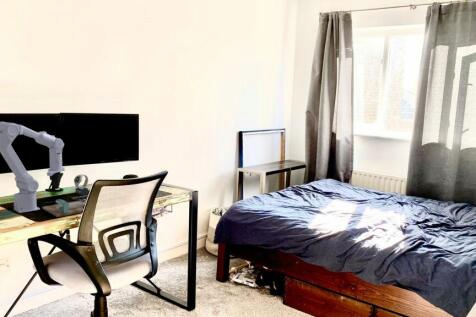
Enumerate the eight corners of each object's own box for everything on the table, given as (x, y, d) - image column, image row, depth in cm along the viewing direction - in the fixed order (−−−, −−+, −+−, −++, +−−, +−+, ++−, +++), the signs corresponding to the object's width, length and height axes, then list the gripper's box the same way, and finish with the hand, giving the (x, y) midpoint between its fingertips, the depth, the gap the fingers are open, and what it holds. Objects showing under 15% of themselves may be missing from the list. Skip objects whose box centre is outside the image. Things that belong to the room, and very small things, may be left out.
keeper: (64, 213, 196) (63, 203, 195) (56, 209, 202) (55, 199, 201) (69, 212, 198) (68, 202, 197) (60, 208, 204) (60, 199, 203)
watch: (72, 194, 235) (72, 175, 233) (84, 191, 242) (84, 173, 240) (79, 195, 232) (78, 176, 230) (90, 193, 239) (90, 174, 237)
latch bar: (85, 203, 213) (85, 198, 212) (89, 205, 210) (89, 199, 210) (55, 209, 200) (55, 203, 200) (59, 211, 198) (59, 205, 197)
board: (57, 216, 193) (57, 214, 193) (42, 208, 205) (42, 206, 205) (99, 209, 208) (99, 207, 208) (83, 201, 220) (83, 200, 220)
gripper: (55, 158, 219) (55, 183, 222) (40, 163, 205) (41, 189, 207) (68, 159, 219) (68, 184, 221) (54, 163, 205) (55, 190, 207)
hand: (56, 187), depth 214 cm, fingers closed
